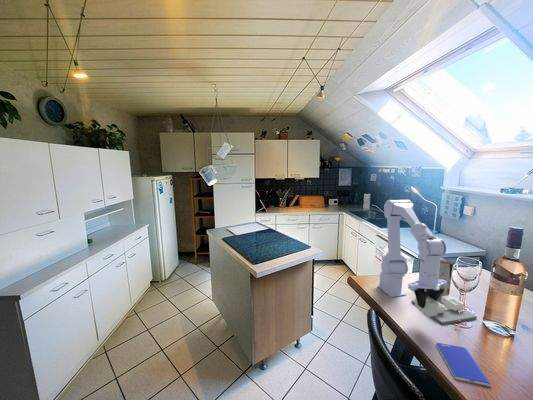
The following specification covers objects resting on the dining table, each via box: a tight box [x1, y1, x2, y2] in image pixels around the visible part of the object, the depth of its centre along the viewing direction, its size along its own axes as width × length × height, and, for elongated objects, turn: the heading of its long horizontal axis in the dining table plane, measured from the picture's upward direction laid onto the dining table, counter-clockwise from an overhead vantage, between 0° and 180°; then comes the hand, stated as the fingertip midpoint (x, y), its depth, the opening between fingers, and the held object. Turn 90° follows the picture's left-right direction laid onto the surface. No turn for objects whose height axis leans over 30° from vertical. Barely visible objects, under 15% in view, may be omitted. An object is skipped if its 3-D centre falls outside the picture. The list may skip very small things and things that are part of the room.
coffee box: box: [438, 256, 454, 296], centre depth 104 cm, size 9×6×16 cm
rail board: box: [411, 294, 478, 326], centre depth 92 cm, size 14×16×4 cm
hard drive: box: [435, 342, 492, 387], centre depth 67 cm, size 2×8×12 cm
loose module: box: [414, 296, 439, 318], centre depth 82 cm, size 6×4×5 cm, turn 10°
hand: (425, 305), depth 82 cm, fingers closed on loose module, 3 cm apart
